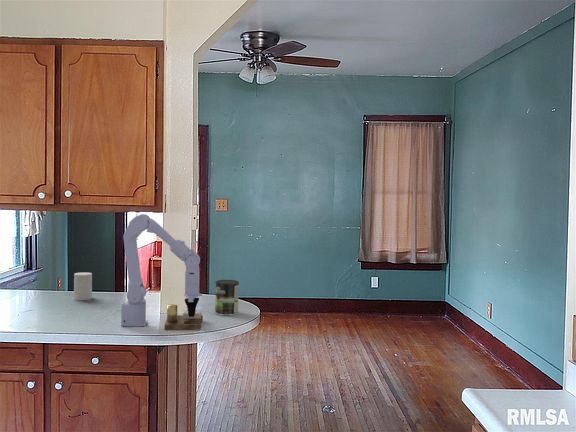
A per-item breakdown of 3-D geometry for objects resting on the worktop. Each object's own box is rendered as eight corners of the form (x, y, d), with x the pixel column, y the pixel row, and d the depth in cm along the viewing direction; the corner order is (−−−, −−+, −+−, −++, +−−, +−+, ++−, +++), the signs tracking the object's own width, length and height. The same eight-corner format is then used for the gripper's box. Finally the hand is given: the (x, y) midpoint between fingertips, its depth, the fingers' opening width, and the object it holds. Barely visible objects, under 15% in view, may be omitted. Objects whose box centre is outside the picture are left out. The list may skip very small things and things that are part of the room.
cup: (70, 299, 293) (70, 274, 292) (81, 296, 301) (80, 271, 300) (85, 300, 290) (85, 275, 290) (95, 297, 298) (95, 273, 297)
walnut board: (164, 329, 239) (164, 324, 239) (168, 320, 255) (168, 315, 255) (200, 329, 240) (200, 324, 240) (202, 320, 256) (202, 315, 256)
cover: (183, 318, 249) (183, 313, 249) (184, 314, 256) (184, 309, 256) (200, 318, 250) (200, 313, 250) (201, 314, 257) (201, 309, 256)
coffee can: (224, 317, 263) (225, 284, 262) (210, 312, 270) (210, 281, 269) (243, 313, 270) (243, 281, 269) (228, 309, 277) (229, 278, 277)
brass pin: (166, 322, 242) (166, 306, 242) (167, 320, 246) (167, 304, 246) (176, 322, 242) (176, 306, 242) (177, 320, 246) (177, 304, 246)
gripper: (201, 286, 241) (200, 320, 241) (203, 280, 255) (202, 312, 256) (183, 286, 240) (182, 320, 241) (185, 279, 254) (185, 312, 255)
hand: (191, 316), depth 248 cm, fingers closed
